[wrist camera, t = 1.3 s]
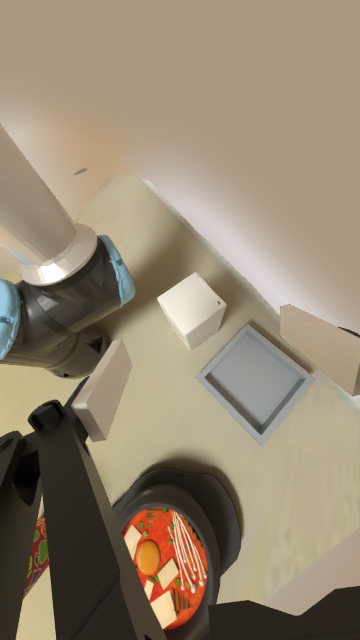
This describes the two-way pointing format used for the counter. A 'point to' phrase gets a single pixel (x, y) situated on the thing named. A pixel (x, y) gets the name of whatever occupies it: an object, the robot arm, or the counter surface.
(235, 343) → the tray
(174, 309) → the supplement box
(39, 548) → the smoothie
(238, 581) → the counter surface
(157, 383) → the counter surface
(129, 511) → the casserole
